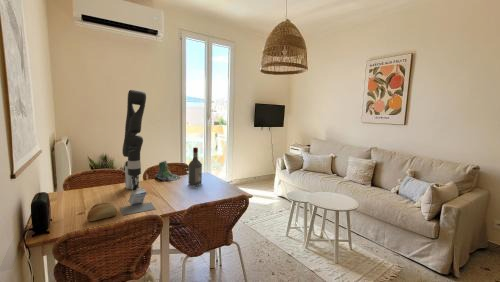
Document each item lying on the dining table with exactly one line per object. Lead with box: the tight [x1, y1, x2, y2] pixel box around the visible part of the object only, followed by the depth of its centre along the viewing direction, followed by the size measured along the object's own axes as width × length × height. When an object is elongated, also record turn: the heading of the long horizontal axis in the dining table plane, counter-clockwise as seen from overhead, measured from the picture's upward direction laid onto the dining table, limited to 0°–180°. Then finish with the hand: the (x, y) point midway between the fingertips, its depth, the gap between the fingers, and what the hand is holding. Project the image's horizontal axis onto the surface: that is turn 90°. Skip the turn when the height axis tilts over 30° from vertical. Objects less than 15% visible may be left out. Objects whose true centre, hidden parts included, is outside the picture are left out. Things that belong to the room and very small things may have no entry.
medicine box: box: [127, 188, 147, 206], centre depth 156 cm, size 8×4×9 cm, turn 148°
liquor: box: [187, 146, 203, 186], centre depth 201 cm, size 9×9×30 cm
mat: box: [119, 201, 157, 216], centre depth 151 cm, size 12×18×1 cm, turn 125°
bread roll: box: [86, 202, 118, 222], centre depth 136 cm, size 10×15×8 cm, turn 140°
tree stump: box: [154, 160, 181, 182], centre depth 214 cm, size 18×20×18 cm
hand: (134, 193), depth 158 cm, fingers closed
